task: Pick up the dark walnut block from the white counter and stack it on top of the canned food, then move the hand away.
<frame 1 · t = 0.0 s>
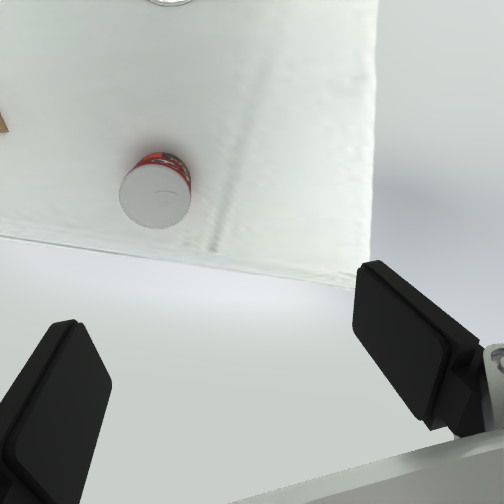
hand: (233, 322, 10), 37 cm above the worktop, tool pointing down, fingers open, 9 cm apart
canned food: (163, 178, 42), on the worktop
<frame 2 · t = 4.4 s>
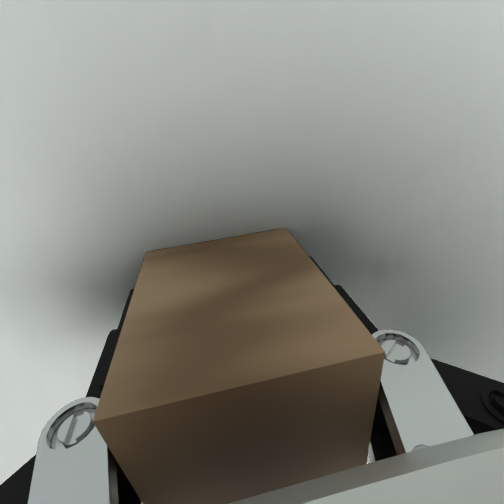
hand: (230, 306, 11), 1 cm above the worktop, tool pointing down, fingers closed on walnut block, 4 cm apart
walnut block: (228, 296, 11), on the worktop, touching gripper
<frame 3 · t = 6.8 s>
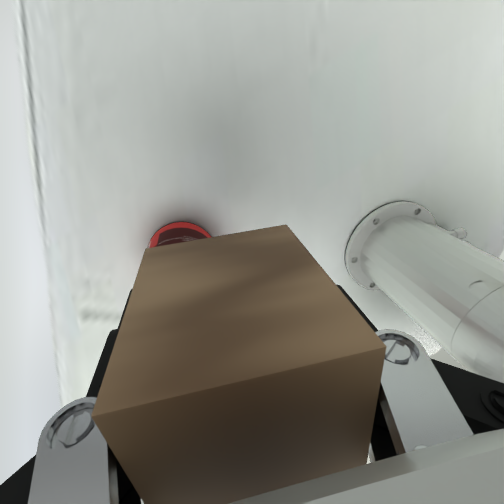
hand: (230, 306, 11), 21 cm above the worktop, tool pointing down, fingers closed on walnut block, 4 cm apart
walnut block: (228, 293, 11), point 21 cm above the worktop, touching gripper
canned food: (183, 251, 32), on the worktop
when the fingers open (13 cm above the worktop, at t = 9.7 s): walnut block drops 1 cm, resting on canned food.
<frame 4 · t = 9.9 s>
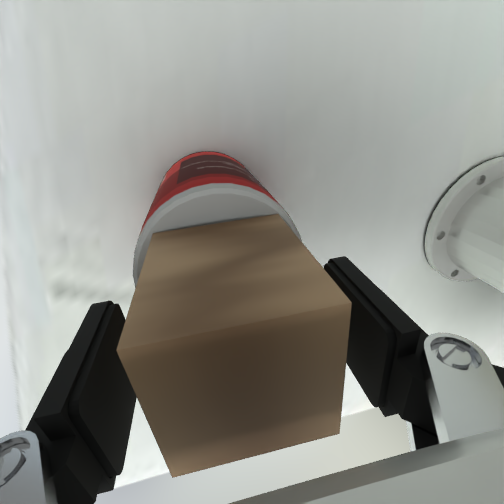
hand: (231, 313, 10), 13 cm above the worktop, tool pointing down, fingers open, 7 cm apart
walnut block: (225, 276, 12), point 11 cm above the worktop, touching canned food
canned food: (209, 202, 22), on the worktop, touching walnut block
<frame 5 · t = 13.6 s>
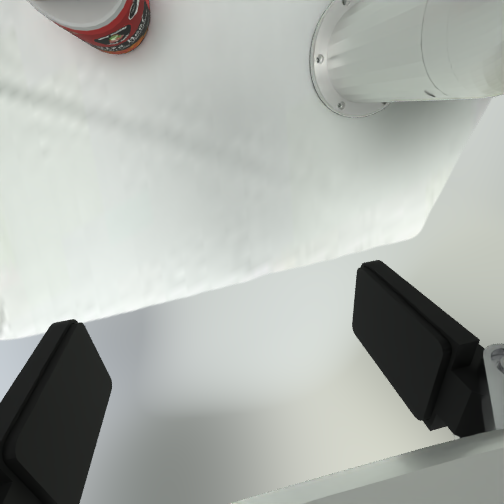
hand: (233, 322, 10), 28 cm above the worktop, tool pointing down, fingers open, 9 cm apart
canned food: (108, 5, 27), on the worktop, touching walnut block
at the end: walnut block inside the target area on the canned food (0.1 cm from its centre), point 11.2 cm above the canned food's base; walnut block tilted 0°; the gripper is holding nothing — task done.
